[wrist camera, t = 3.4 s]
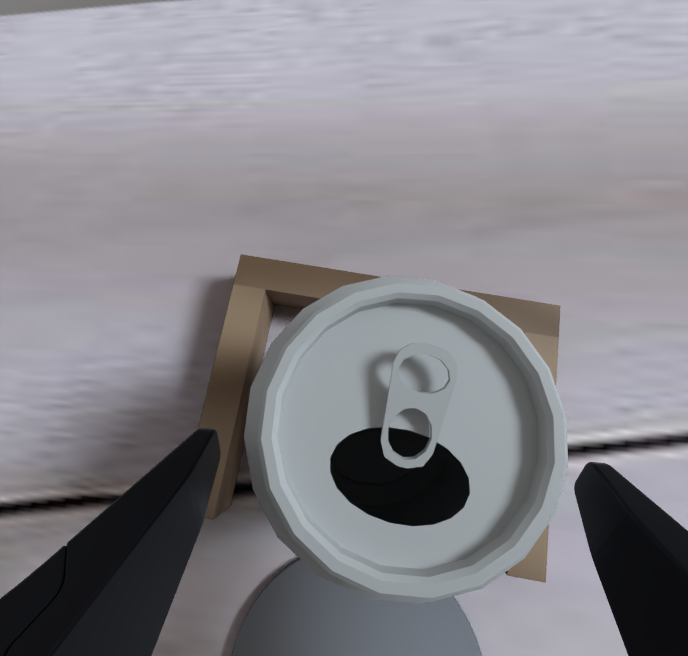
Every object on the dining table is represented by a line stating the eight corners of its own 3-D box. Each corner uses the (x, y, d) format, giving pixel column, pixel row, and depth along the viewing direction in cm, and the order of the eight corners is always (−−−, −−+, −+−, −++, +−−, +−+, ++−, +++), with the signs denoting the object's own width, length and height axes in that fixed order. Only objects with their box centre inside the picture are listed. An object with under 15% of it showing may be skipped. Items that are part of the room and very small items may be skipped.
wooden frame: (518, 560, 18) (545, 582, 15) (199, 500, 19) (177, 512, 16) (534, 318, 20) (560, 305, 18) (253, 273, 21) (240, 254, 19)
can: (278, 479, 19) (167, 585, 7) (318, 330, 20) (281, 214, 9) (433, 520, 18) (588, 705, 7) (461, 365, 20) (626, 291, 8)
